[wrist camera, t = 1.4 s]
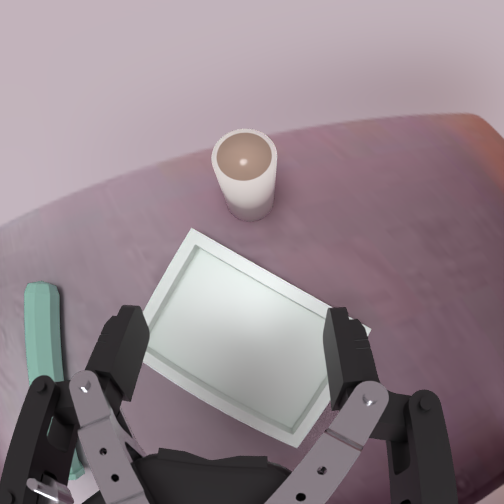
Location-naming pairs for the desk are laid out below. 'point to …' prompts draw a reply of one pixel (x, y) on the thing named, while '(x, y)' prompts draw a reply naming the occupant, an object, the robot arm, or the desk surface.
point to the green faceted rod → (45, 341)
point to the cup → (246, 172)
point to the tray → (240, 339)
